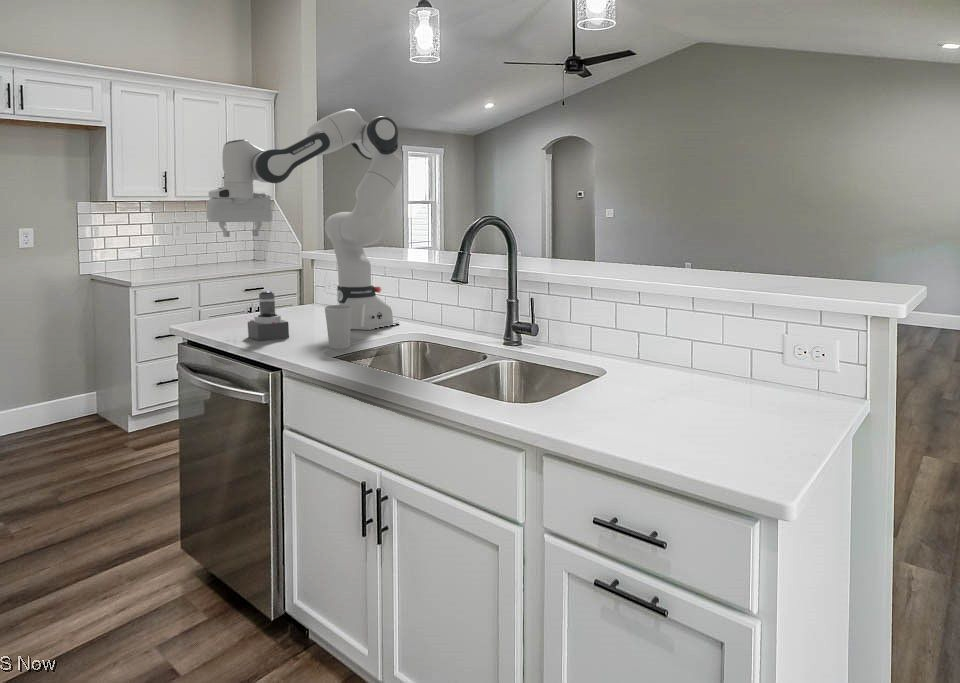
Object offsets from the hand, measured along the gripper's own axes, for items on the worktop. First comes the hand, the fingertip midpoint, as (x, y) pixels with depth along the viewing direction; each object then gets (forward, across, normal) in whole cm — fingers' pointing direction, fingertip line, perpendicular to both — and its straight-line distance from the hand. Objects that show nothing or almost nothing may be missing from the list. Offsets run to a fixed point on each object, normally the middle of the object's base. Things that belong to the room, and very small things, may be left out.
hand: (241, 236), depth 223 cm
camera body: (+31, -2, +13) cm, 34 cm away
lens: (+26, -2, +13) cm, 29 cm away
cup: (+31, -13, +39) cm, 52 cm away
